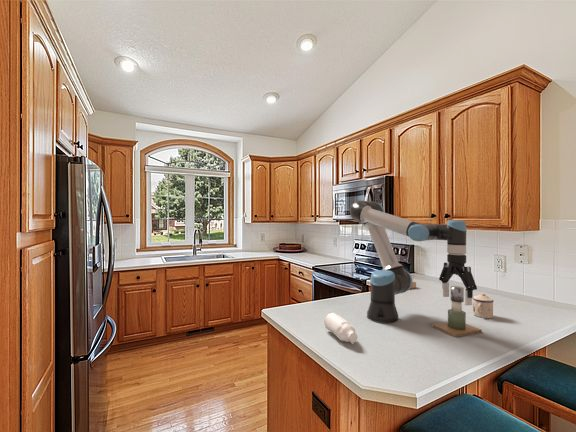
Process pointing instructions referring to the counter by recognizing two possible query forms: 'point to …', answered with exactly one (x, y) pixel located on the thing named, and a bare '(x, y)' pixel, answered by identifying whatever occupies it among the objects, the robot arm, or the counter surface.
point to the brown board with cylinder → (457, 322)
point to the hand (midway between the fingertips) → (456, 300)
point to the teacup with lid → (483, 306)
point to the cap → (457, 294)
